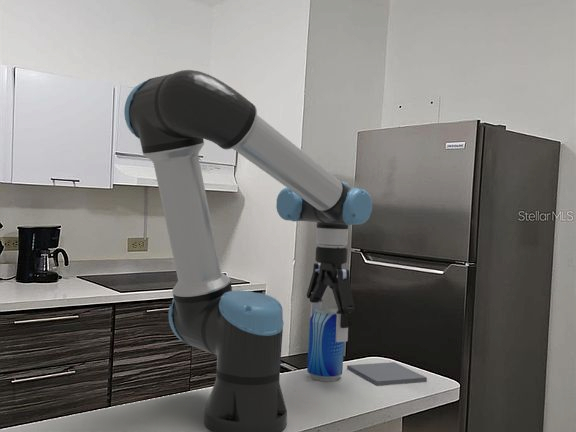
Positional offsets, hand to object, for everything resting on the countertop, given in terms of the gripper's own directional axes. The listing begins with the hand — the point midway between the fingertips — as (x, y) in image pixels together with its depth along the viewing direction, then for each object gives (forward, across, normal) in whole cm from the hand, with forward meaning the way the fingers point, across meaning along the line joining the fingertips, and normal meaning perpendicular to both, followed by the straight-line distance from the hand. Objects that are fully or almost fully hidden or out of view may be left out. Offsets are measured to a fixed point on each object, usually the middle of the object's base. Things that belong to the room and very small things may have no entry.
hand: (327, 334), depth 140 cm
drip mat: (+10, -2, -16) cm, 19 cm away
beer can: (+10, 0, 0) cm, 10 cm away
